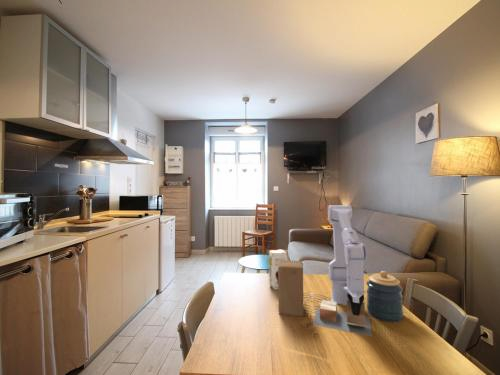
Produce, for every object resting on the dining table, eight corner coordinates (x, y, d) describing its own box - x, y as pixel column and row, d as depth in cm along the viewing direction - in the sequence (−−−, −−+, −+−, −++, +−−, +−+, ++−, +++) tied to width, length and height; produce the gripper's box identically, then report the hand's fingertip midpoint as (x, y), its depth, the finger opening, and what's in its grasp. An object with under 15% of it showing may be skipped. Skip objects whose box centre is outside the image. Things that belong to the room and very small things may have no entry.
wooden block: (303, 317, 95) (303, 267, 95) (278, 315, 97) (278, 266, 97) (303, 306, 105) (302, 260, 105) (280, 304, 107) (279, 259, 107)
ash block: (319, 318, 94) (321, 309, 101) (335, 321, 91) (336, 312, 99) (319, 308, 94) (321, 299, 101) (335, 311, 91) (336, 302, 99)
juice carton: (267, 285, 128) (267, 249, 129) (282, 283, 131) (282, 248, 131) (273, 290, 121) (273, 253, 121) (288, 288, 124) (288, 252, 124)
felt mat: (317, 308, 103) (317, 307, 103) (369, 317, 95) (369, 316, 95) (312, 325, 90) (312, 324, 90) (372, 337, 82) (372, 336, 82)
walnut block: (347, 324, 90) (347, 301, 94) (364, 327, 87) (363, 303, 91) (347, 323, 87) (346, 299, 90) (365, 327, 84) (364, 302, 88)
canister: (397, 308, 102) (396, 267, 102) (408, 325, 89) (407, 278, 90) (364, 305, 105) (363, 265, 106) (370, 320, 93) (369, 275, 93)
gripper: (343, 270, 96) (344, 304, 95) (343, 282, 82) (343, 322, 82) (363, 272, 93) (364, 307, 92) (365, 285, 79) (366, 326, 79)
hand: (355, 314), depth 87 cm, fingers closed, pressing on walnut block
